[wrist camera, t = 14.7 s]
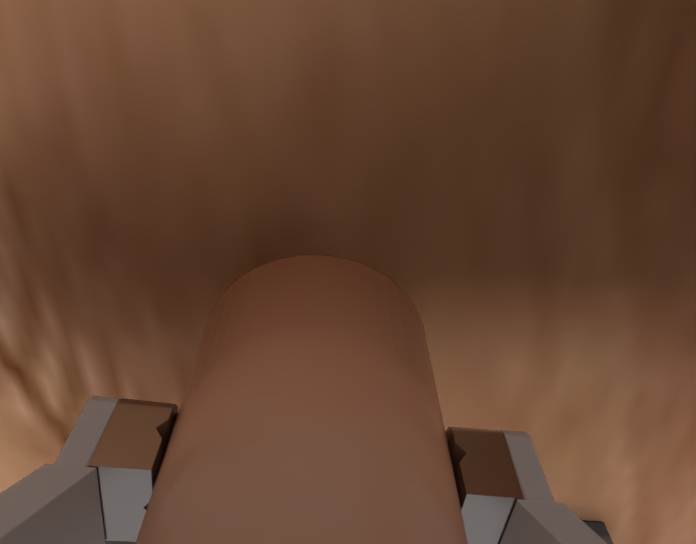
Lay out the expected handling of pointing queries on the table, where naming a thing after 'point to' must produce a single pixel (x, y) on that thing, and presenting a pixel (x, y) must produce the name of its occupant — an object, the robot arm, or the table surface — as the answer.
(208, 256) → the table surface
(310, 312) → the tan rounded cylinder
